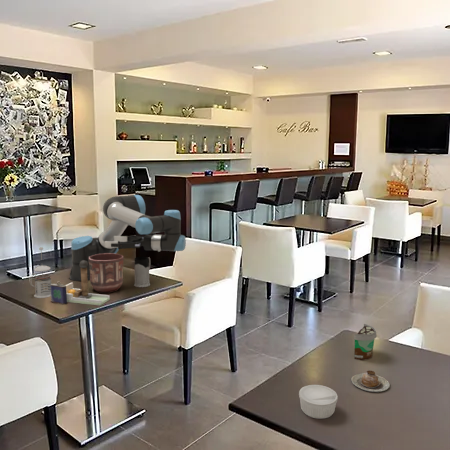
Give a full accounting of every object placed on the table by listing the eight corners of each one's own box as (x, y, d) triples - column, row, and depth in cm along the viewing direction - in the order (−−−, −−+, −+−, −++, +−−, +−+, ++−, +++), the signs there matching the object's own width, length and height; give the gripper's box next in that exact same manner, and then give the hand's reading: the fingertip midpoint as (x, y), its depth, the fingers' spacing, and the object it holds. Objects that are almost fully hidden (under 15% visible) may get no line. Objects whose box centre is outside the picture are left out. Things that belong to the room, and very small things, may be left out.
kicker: (81, 295, 243) (79, 258, 240) (92, 296, 241) (90, 259, 238) (74, 298, 237) (72, 261, 234) (85, 300, 235) (83, 262, 232)
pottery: (103, 297, 244) (102, 262, 241) (83, 290, 255) (81, 256, 253) (130, 289, 258) (130, 256, 255) (110, 283, 269) (109, 251, 266)
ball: (77, 288, 242) (78, 295, 242) (70, 288, 243) (71, 295, 243) (72, 290, 238) (73, 298, 238) (65, 290, 239) (66, 298, 239)
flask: (50, 302, 236) (48, 280, 234) (54, 300, 239) (53, 279, 237) (64, 304, 232) (63, 283, 231) (69, 303, 235) (68, 281, 233)
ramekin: (324, 426, 134) (325, 408, 133) (290, 411, 141) (291, 394, 140) (344, 409, 142) (344, 393, 141) (311, 396, 149) (311, 380, 148)
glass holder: (131, 286, 263) (130, 259, 260) (143, 279, 276) (142, 253, 274) (145, 287, 260) (145, 260, 258) (157, 280, 273) (156, 254, 271)
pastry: (343, 383, 159) (344, 370, 158) (366, 373, 166) (367, 360, 165) (374, 398, 149) (375, 384, 148) (397, 387, 156) (398, 373, 155)
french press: (57, 294, 248) (55, 247, 243) (35, 299, 239) (32, 250, 235) (48, 290, 254) (45, 244, 250) (26, 295, 246) (23, 247, 242)
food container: (370, 364, 171) (371, 337, 169) (353, 360, 174) (354, 334, 172) (379, 352, 181) (380, 326, 180) (363, 348, 184) (364, 323, 183)
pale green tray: (71, 295, 246) (70, 282, 245) (110, 299, 241) (109, 285, 239) (60, 301, 238) (59, 287, 236) (100, 305, 232) (99, 291, 230)
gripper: (146, 256, 219) (101, 255, 221) (159, 244, 244) (118, 243, 246) (146, 240, 218) (100, 238, 220) (159, 230, 242) (117, 229, 244)
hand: (109, 241), depth 233 cm, fingers open, 13 cm apart
